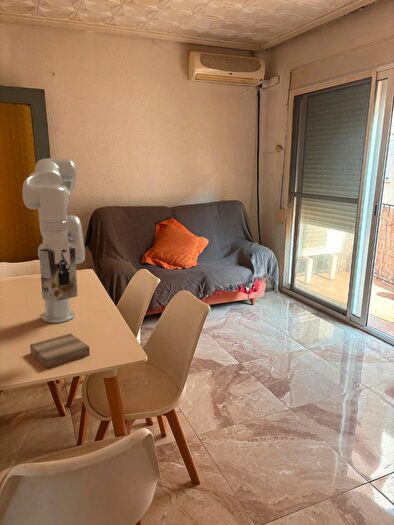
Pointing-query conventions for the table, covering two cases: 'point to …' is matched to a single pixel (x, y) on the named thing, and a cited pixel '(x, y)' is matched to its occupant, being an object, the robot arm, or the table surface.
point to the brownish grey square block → (59, 350)
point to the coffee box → (56, 277)
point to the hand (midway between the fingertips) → (59, 281)
